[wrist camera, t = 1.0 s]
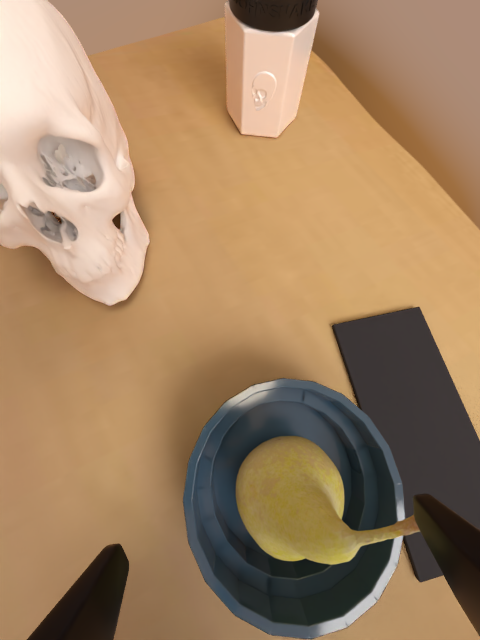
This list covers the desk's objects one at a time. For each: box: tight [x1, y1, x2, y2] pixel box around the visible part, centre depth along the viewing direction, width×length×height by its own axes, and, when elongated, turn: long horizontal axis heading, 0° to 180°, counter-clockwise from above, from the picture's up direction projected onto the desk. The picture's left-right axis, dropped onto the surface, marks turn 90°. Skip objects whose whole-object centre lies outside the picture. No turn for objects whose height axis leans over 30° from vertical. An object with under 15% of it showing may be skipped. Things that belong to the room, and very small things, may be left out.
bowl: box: [183, 378, 405, 639], centre depth 18 cm, size 14×14×4 cm
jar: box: [225, 0, 319, 138], centre depth 26 cm, size 9×8×12 cm
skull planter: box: [0, 0, 150, 306], centre depth 21 cm, size 14×20×19 cm
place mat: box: [332, 307, 480, 582], centre depth 21 cm, size 20×9×1 cm, turn 12°
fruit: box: [236, 436, 420, 565], centre depth 14 cm, size 7×8×12 cm
